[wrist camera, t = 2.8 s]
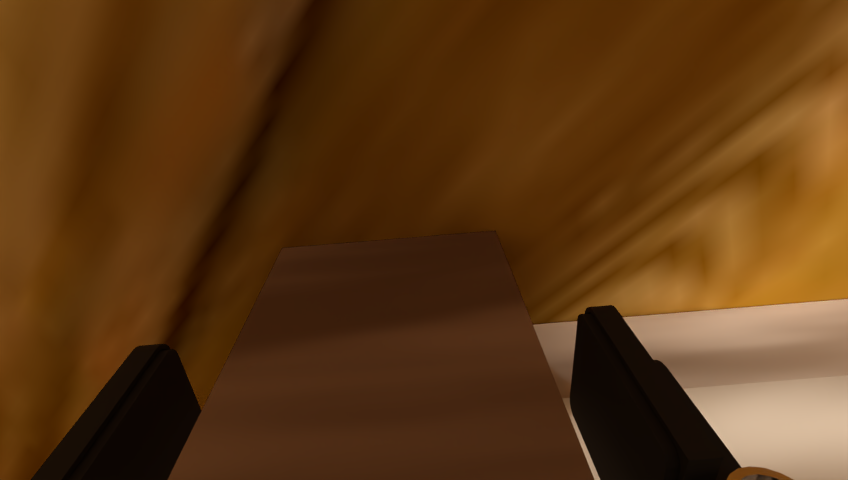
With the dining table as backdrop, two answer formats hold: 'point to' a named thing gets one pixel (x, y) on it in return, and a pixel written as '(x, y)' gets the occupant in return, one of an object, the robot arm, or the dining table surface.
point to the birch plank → (748, 379)
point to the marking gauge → (387, 373)
